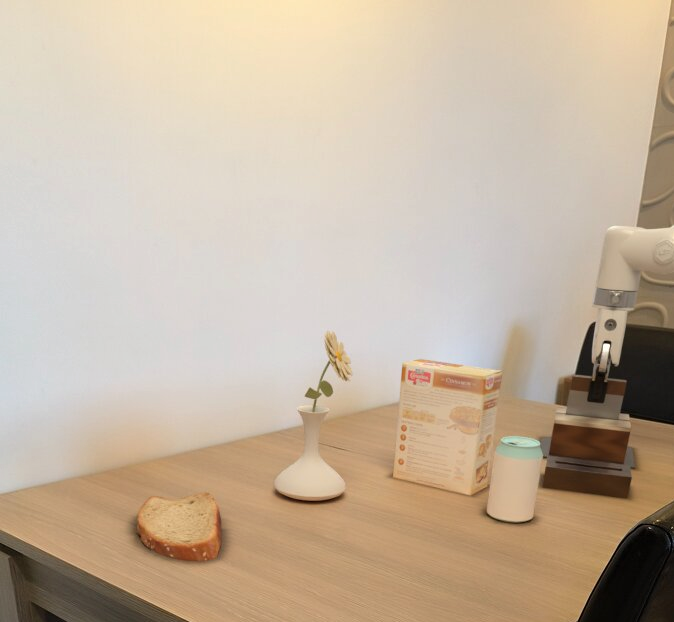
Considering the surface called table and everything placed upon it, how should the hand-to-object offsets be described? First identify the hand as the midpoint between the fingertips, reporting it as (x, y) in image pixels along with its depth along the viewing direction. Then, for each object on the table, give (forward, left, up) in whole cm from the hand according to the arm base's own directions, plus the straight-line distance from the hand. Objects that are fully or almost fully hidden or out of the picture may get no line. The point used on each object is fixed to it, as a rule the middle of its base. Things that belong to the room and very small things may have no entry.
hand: (595, 400), depth 159 cm
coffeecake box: (+24, +32, -11) cm, 41 cm away
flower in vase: (+42, +47, -11) cm, 64 cm away
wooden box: (0, 0, -11) cm, 11 cm away
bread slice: (+53, +70, -11) cm, 88 cm away
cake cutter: (0, 0, -7) cm, 7 cm away
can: (+11, +45, -11) cm, 48 cm away
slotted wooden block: (0, +24, -11) cm, 26 cm away
